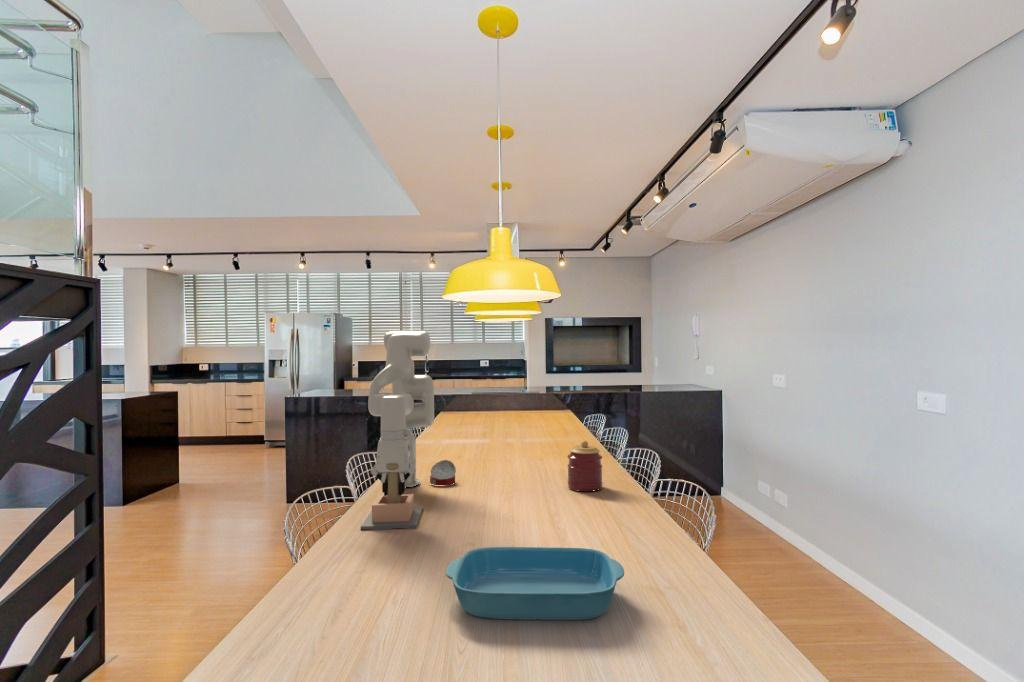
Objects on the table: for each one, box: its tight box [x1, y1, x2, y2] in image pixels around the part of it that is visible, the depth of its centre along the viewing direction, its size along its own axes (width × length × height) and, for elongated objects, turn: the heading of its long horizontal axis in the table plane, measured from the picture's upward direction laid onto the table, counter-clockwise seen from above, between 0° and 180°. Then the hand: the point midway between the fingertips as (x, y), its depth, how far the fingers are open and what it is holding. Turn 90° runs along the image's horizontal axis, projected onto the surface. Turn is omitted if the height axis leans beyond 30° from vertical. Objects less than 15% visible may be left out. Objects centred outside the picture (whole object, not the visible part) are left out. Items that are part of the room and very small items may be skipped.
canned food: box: [429, 459, 457, 485], centre depth 202 cm, size 11×10×10 cm
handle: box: [386, 464, 400, 504], centre depth 159 cm, size 5×6×15 cm
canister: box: [566, 440, 604, 492], centre depth 193 cm, size 13×13×18 cm
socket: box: [360, 493, 424, 530], centre depth 159 cm, size 18×16×6 cm
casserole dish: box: [445, 546, 625, 621], centre depth 107 cm, size 37×22×7 cm, turn 86°
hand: (393, 493), depth 159 cm, fingers closed on handle, 3 cm apart
